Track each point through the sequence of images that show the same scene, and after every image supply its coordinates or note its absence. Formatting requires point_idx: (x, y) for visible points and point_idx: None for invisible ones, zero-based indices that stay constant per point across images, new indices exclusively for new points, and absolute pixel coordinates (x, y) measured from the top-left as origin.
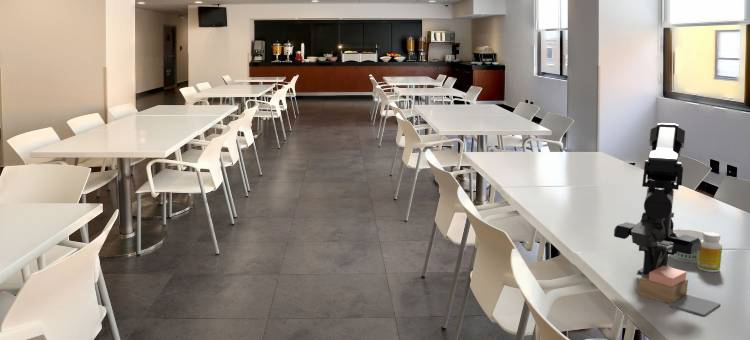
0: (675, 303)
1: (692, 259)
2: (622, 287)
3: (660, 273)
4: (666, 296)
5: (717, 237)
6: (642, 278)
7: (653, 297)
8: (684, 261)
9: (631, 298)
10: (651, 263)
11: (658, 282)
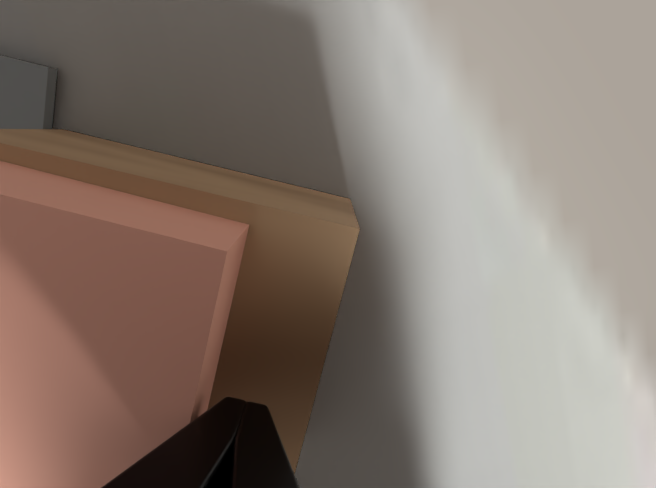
0: (23, 125)
1: None
2: (492, 285)
3: (78, 285)
4: (83, 143)
5: None
6: (327, 245)
7: (216, 169)
8: None
9: (377, 66)
10: (233, 468)
11: (128, 196)
